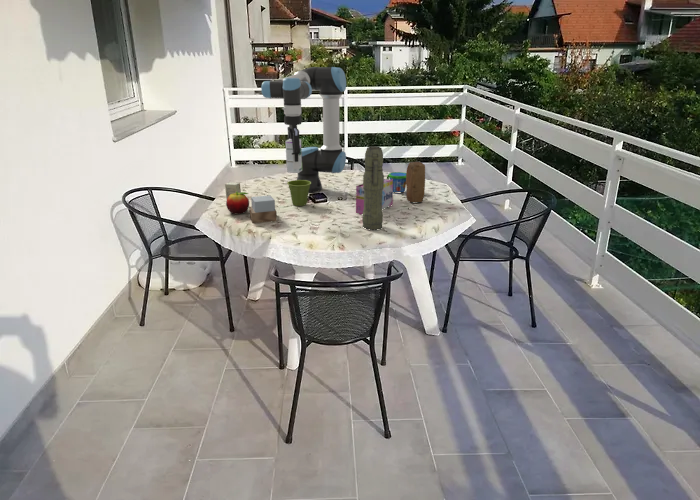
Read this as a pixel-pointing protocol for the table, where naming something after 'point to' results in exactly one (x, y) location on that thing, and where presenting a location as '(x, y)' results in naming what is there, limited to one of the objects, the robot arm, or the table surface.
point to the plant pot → (299, 191)
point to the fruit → (237, 203)
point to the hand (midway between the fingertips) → (294, 166)
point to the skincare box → (232, 188)
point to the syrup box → (290, 157)
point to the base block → (262, 216)
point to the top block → (263, 203)
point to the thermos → (373, 188)
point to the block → (415, 182)
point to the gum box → (386, 196)
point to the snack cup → (398, 181)
